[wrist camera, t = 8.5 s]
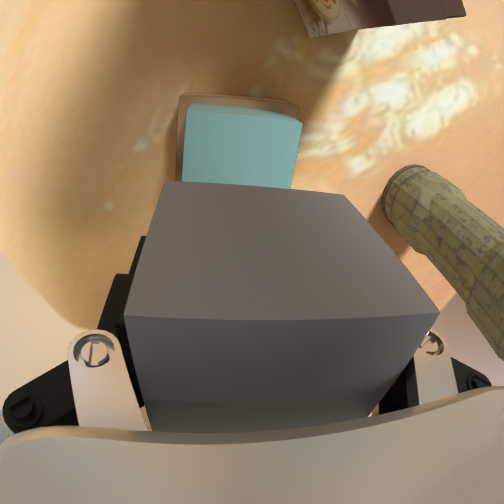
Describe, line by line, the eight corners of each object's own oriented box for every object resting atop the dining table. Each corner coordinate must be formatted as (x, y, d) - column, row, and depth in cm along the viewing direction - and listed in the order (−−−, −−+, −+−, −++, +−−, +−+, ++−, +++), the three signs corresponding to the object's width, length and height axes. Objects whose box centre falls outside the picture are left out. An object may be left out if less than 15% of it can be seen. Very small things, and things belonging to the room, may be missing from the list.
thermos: (395, 246, 40) (540, 476, 11) (367, 175, 34) (591, 454, 5) (443, 214, 38) (606, 410, 9) (424, 142, 32) (664, 350, 3)
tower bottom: (184, 92, 27) (179, 96, 23) (286, 100, 29) (298, 106, 25) (179, 186, 32) (175, 205, 28) (272, 190, 34) (282, 210, 30)
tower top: (191, 103, 23) (187, 111, 19) (287, 113, 25) (302, 123, 21) (184, 191, 28) (180, 216, 23) (272, 197, 29) (283, 223, 25)
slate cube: (165, 180, 10) (123, 314, 5) (343, 194, 11) (440, 311, 6) (168, 318, 13) (159, 452, 8) (306, 320, 14) (346, 441, 9)
